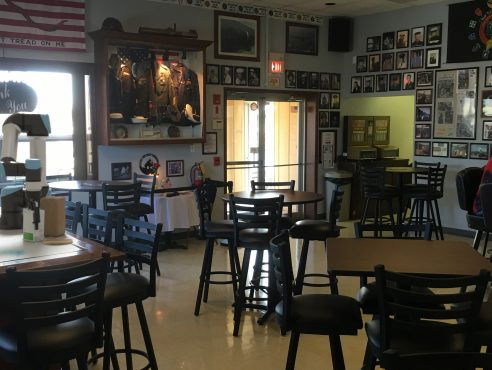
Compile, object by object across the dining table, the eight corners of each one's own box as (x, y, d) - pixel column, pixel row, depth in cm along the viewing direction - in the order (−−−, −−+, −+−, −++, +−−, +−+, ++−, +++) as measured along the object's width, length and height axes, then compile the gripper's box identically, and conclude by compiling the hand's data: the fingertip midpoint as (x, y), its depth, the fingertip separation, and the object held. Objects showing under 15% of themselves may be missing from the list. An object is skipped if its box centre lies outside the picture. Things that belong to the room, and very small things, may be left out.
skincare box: (22, 240, 277) (22, 209, 276) (33, 238, 283) (33, 208, 282) (34, 242, 273) (34, 210, 272) (45, 240, 279) (44, 209, 278)
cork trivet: (39, 241, 277) (39, 238, 277) (68, 238, 284) (68, 236, 284) (46, 246, 265) (46, 243, 265) (76, 243, 273) (76, 241, 272)
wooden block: (66, 233, 298) (66, 196, 296) (58, 237, 288) (57, 198, 287) (48, 232, 299) (47, 195, 297) (39, 236, 289) (39, 198, 287)
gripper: (20, 188, 283) (21, 231, 285) (30, 192, 264) (30, 238, 266) (36, 187, 287) (36, 230, 289) (46, 191, 268) (47, 237, 270)
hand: (33, 234), depth 278 cm, fingers closed on skincare box, 10 cm apart
